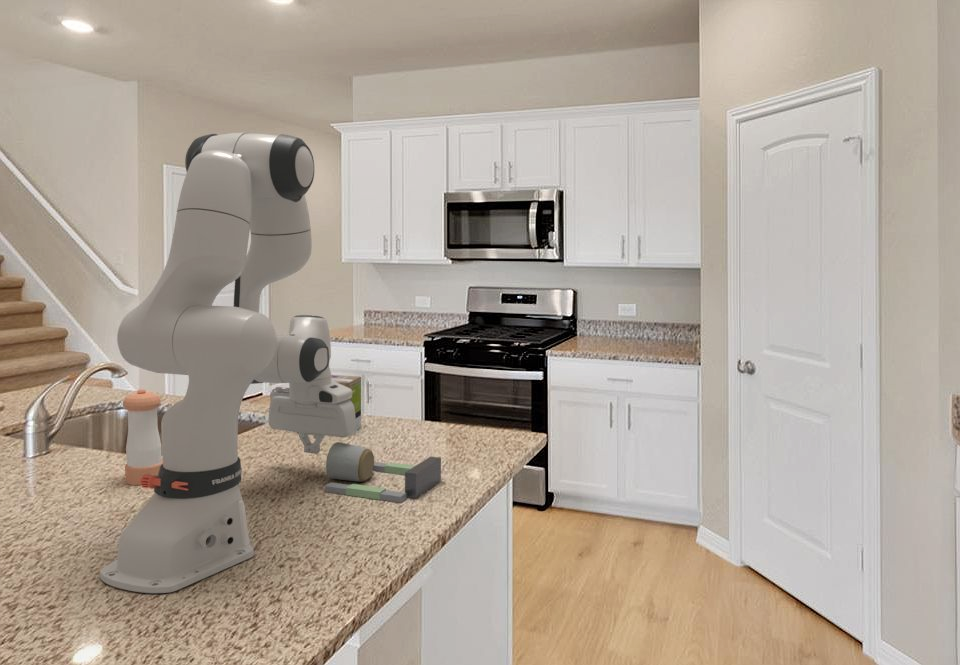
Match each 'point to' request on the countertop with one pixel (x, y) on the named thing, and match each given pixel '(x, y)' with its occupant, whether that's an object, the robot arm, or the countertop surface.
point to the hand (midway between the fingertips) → (312, 452)
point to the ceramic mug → (349, 462)
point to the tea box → (355, 386)
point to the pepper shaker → (142, 436)
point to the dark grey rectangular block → (422, 477)
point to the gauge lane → (373, 491)
